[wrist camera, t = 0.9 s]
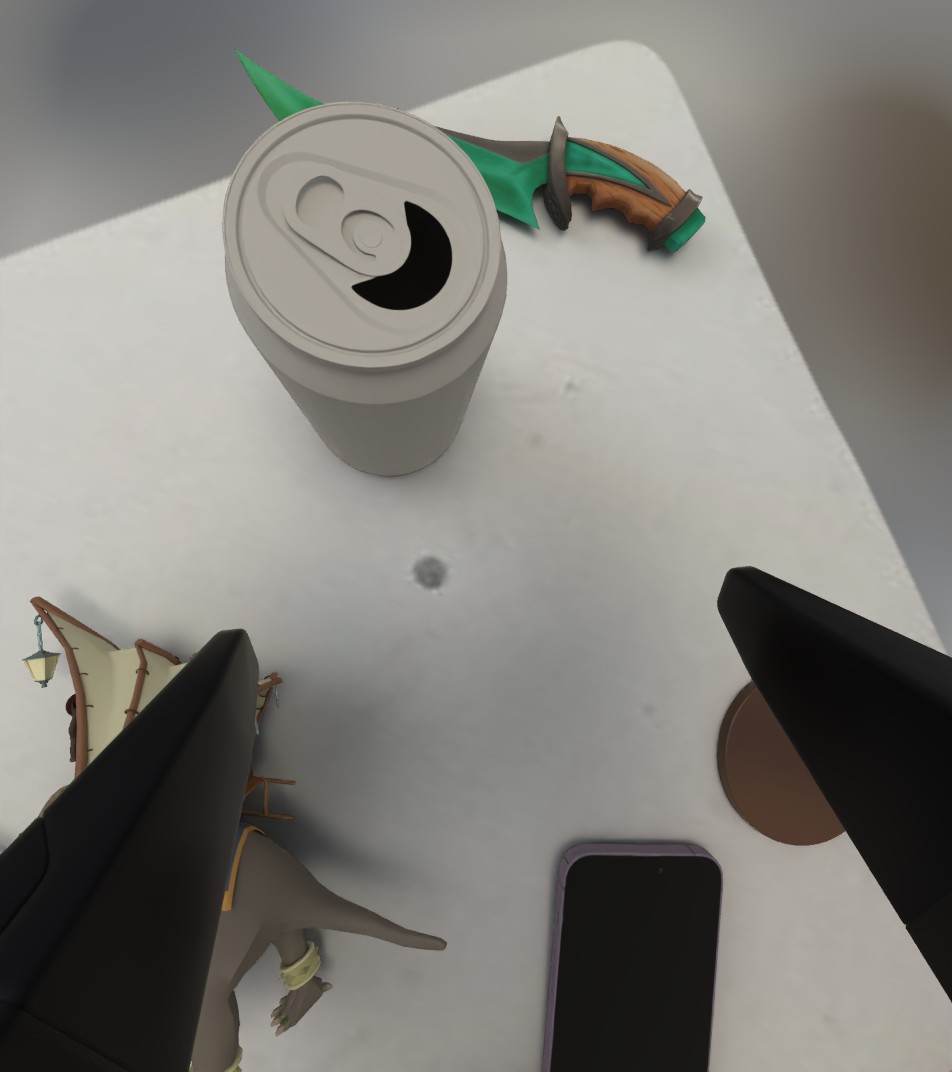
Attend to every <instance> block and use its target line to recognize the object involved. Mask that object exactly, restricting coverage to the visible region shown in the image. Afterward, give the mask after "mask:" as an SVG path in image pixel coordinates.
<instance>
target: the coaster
mask: <svg viewBox="0 0 952 1072" xmlns="http://www.w3.org/2000/svg"><path fill="white" fill-rule="evenodd" d="M718 768H719V773H720V778H721V781H722V784H723V787H724V790H725V792H726V794H727V796H728V798H729V800H730V802H731V804H732V805H733V807H734V808H735V810H736V811H737V812H738V813H739V814H740V816H741V817H742V818H743V819H744V820H745V821H746V822H748V823H749V824H750V825H751V826H752V827H754V828H755V829H756V830H758V831H759V832H761V833H762V834H764V835H765V836H767V837H769V838H771V839H773V840H775V841H778V842H781V843H785V844H790V845H797V846H798V845H814V844H819V843H822V842H826V841H828V840H831V839H833V838H835V837H837V836H839V835H840V834H842V833H843V832H845V831H846V830H845V829H844V827H843V826H842V824H841V822H840V821H839V819H838V818H837V816H836V814H835V813H834V811H833V809H832V808H831V806H830V805H829V803H828V801H827V800H826V798H825V797H824V795H823V793H822V792H821V790H820V789H819V787H818V785H817V784H816V782H815V780H814V779H813V777H812V776H811V774H810V772H809V771H808V769H807V768H806V766H805V764H804V763H803V761H802V760H801V758H800V756H799V755H798V753H797V751H796V750H795V748H794V747H793V745H792V743H791V742H790V740H789V739H788V737H787V735H786V734H785V732H784V730H783V729H782V727H781V726H780V724H779V722H778V721H777V719H776V718H775V716H774V714H773V713H772V711H771V710H770V708H769V706H768V705H767V703H766V701H765V700H764V698H763V697H762V695H761V693H760V692H759V690H758V689H757V687H756V685H755V683H754V682H751V683H750V684H749V685H747V686H746V687H745V688H744V689H743V690H742V691H741V692H740V694H739V695H738V696H737V697H736V699H735V700H734V701H733V703H732V705H731V706H730V708H729V710H728V712H727V714H726V716H725V719H724V721H723V724H722V728H721V731H720V736H719V742H718Z"/></svg>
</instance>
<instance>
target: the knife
mask: <svg viewBox="0 0 952 1072" xmlns="http://www.w3.org/2000/svg"><path fill="white" fill-rule="evenodd" d="M235 51H236V53H237V55H238V57H239V58H240V60H241V62H242V64H243V66H244V67H245V69H246V71H247V73H248V74H249V76H250V78H251V80H252V81H253V83H254V85H255V86H256V88H257V90H258V91H259V93H260V94H261V96H262V97H263V99H264V101H265V102H266V104H267V105H268V106H269V108H270V109H271V110H272V112H273V113H274V115H275V116H276V117H277V119H278V120H279V121H281V120H283V119H285V118H287V117H289V116H291V115H293V114H295V113H297V112H300V111H302V110H305V109H308V108H311V107H315V106H318V105H323V103H321V102H319V101H317V100H315V99H313V98H311V97H309V96H307V95H305V94H303V93H301V92H300V91H298V90H296V89H294V88H292V87H291V86H290V85H288V84H286V83H285V82H283V81H282V80H280V79H278V78H277V77H275V76H274V75H272V74H270V73H269V72H268V71H266V70H265V69H263V68H262V67H260V66H259V65H257V64H256V63H254V62H253V61H251V60H250V59H248V58H247V57H246V56H244V55H243V54H241V53H240V52H238V51H237V50H235ZM397 109H398V108H397ZM435 127H436V126H435ZM436 128H438V129H439V130H440V131H441V132H443V133H444V134H445V135H447V136H448V137H449V138H450V139H452V140H453V141H454V142H455V143H456V144H457V145H458V146H459V147H460V148H461V149H462V150H463V151H464V152H465V153H466V154H467V156H468V157H469V158H470V159H471V161H472V162H473V163H474V165H475V166H476V168H477V169H478V171H479V172H480V174H481V175H482V177H483V179H484V181H485V183H486V185H487V187H488V189H489V191H490V193H491V196H492V198H493V201H494V204H495V207H496V210H498V211H501V212H503V213H505V214H508V215H510V216H512V217H514V218H516V219H518V220H520V221H522V222H525V223H527V224H529V225H531V226H533V227H535V228H537V229H539V226H538V223H537V220H536V217H535V214H534V210H533V204H532V195H533V192H534V190H535V189H536V188H537V187H539V186H540V185H542V184H543V195H544V203H545V205H546V207H547V210H548V212H549V214H550V216H551V218H552V219H553V221H554V223H555V224H556V225H557V226H558V227H559V228H560V229H561V230H564V231H565V230H566V229H568V225H569V222H570V221H571V217H572V212H571V202H570V196H571V195H572V194H573V193H588V195H589V196H590V197H591V199H592V209H593V210H595V211H597V210H600V209H605V208H615V209H617V210H619V211H622V212H623V213H624V215H625V216H626V218H627V221H628V222H629V223H638V224H644V225H645V226H646V228H647V229H648V230H649V231H650V233H651V235H650V236H649V238H648V248H647V249H648V250H649V251H650V250H655V249H658V248H659V247H661V246H662V245H664V244H665V245H666V246H667V247H668V249H669V250H670V251H671V252H676V251H677V250H678V249H679V248H680V247H681V246H682V245H684V244H685V243H686V242H687V241H688V240H689V239H690V238H691V237H692V236H693V235H694V234H695V233H696V232H697V231H698V230H699V229H700V227H701V226H702V225H703V224H704V223H705V216H704V215H703V214H702V213H701V211H700V210H699V209H698V208H697V207H698V206H699V204H700V202H701V200H702V196H699V195H696V194H694V193H693V192H692V191H691V190H690V189H689V190H688V191H687V192H685V191H684V190H683V189H682V188H681V187H680V186H679V184H678V183H677V182H676V181H675V180H673V179H672V178H671V177H670V176H669V175H667V174H666V173H665V172H664V171H662V170H661V169H659V168H658V167H656V166H655V165H653V164H652V163H650V162H648V161H646V160H644V159H642V158H640V157H638V156H636V155H634V154H632V153H630V152H628V151H625V150H623V149H620V148H617V147H615V146H612V145H608V144H605V143H600V142H596V141H592V140H587V139H581V138H571V137H568V134H569V133H568V132H567V130H566V129H565V127H564V125H563V124H562V122H561V118H560V116H558V117H557V119H556V122H555V126H554V130H553V133H552V136H551V139H550V142H545V141H495V140H488V139H484V138H480V137H475V136H471V135H466V134H462V133H458V132H454V131H451V130H447V129H443V128H440V127H436ZM539 230H540V229H539Z"/></svg>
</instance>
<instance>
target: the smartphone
mask: <svg viewBox="0 0 952 1072" xmlns="http://www.w3.org/2000/svg"><path fill="white" fill-rule="evenodd" d="M722 889H723V873H722V869H721V866H720V864H719V863H718V862H717V860H716V859H715V858H714V857H713V856H712V855H711V854H710V853H709V852H708V851H707V850H706V849H704V848H702V847H699V846H696V845H660V844H580V845H577V846H574V847H573V848H571V849H570V850H568V851H567V852H566V854H565V855H564V857H563V858H562V861H561V863H560V866H559V873H558V885H557V897H556V910H555V922H554V934H553V946H552V958H551V970H550V982H549V995H548V1007H547V1019H546V1031H545V1043H544V1055H543V1067H542V1072H709V1063H710V1050H711V1036H712V1023H713V1010H714V996H715V983H716V969H717V956H718V943H719V929H720V916H721V903H722Z"/></svg>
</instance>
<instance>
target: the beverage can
mask: <svg viewBox="0 0 952 1072" xmlns="http://www.w3.org/2000/svg"><path fill="white" fill-rule="evenodd" d="M222 226H223V240H224V248H225V272H226V280H227V286H228V290H229V294H230V298H231V301H232V304H233V307H234V309H235V312H236V314H237V316H238V319H239V321H240V323H241V324H242V326H243V328H244V330H245V332H246V333H247V335H248V336H249V338H250V339H251V341H252V342H253V344H254V345H255V346H256V348H257V349H258V351H259V352H260V353H261V355H262V356H263V358H264V359H265V360H266V362H267V363H268V365H269V366H270V367H271V369H272V370H273V372H274V373H275V374H276V376H277V377H278V379H279V380H280V381H281V383H282V384H283V386H284V387H285V388H286V390H287V391H288V393H289V394H290V395H291V397H292V398H293V400H294V401H295V402H296V404H297V405H298V407H299V408H300V409H301V411H302V412H303V414H304V415H305V416H306V418H307V419H308V421H309V422H310V423H311V425H312V426H313V428H314V429H315V430H316V432H317V433H318V435H319V436H320V437H321V439H322V440H323V442H324V443H325V444H326V445H327V447H328V448H329V449H330V450H331V451H332V452H333V453H334V454H335V455H336V456H337V457H338V458H340V459H341V460H342V461H344V462H345V463H347V464H348V465H350V466H352V467H354V468H356V469H359V470H361V471H364V472H367V473H371V474H376V475H385V476H393V475H403V474H407V473H411V472H414V471H417V470H419V469H421V468H423V467H425V466H427V465H428V464H430V463H432V462H433V461H435V460H436V459H438V458H439V457H440V456H441V455H442V454H443V453H444V452H445V451H446V450H447V449H448V447H449V446H450V445H451V443H452V442H453V440H454V438H455V436H456V434H457V432H458V430H459V428H460V425H461V422H462V420H463V417H464V414H465V412H466V409H467V406H468V404H469V401H470V399H471V396H472V393H473V391H474V388H475V385H476V383H477V380H478V377H479V375H480V372H481V369H482V367H483V364H484V361H485V359H486V356H487V354H488V351H489V348H490V346H491V343H492V340H493V338H494V335H495V332H496V330H497V327H498V324H499V322H500V319H501V316H502V312H503V308H504V304H505V300H506V291H507V266H506V257H505V252H504V247H503V243H502V240H501V234H500V225H499V219H498V214H497V211H496V207H495V204H494V201H493V198H492V196H491V193H490V191H489V189H488V187H487V185H486V183H485V181H484V179H483V177H482V175H481V174H480V172H479V171H478V169H477V168H476V166H475V165H474V163H473V162H472V161H471V159H470V158H469V157H468V156H467V154H466V153H465V152H464V151H463V150H462V149H461V148H460V147H459V146H458V145H457V144H456V143H455V142H454V141H453V140H452V139H450V138H449V137H448V136H447V135H445V134H444V133H443V132H441V131H440V130H439V129H438V128H436V127H435V126H433V125H431V124H430V123H428V122H426V121H424V120H422V119H420V118H418V117H416V116H414V115H412V114H409V113H407V112H404V111H402V110H399V109H395V108H392V107H388V106H384V105H380V104H374V103H367V102H337V103H328V104H323V105H318V106H315V107H311V108H308V109H305V110H302V111H300V112H297V113H295V114H293V115H291V116H289V117H287V118H285V119H283V120H281V121H280V122H278V123H277V124H275V125H274V126H272V127H271V128H270V129H268V130H267V131H266V132H265V133H263V134H262V135H261V136H260V137H259V138H258V139H257V140H256V141H255V142H254V143H253V144H252V146H251V147H250V148H249V149H248V150H247V152H246V153H245V154H244V156H243V157H242V159H241V160H240V162H239V164H238V166H237V168H236V170H235V171H234V173H233V175H232V177H231V180H230V183H229V186H228V189H227V193H226V196H225V201H224V208H223V222H222Z"/></svg>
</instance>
